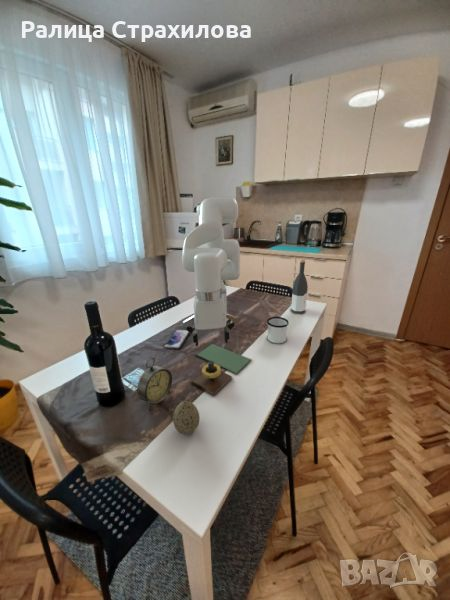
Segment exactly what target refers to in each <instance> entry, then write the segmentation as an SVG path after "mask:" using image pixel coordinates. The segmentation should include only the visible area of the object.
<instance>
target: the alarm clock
mask: <svg viewBox="0 0 450 600" xmlns="http://www.w3.org/2000/svg"><path fill="white" fill-rule="evenodd" d="M150 360H153V363H152V365H149V366H148V362H149V361H150ZM155 362H156V359H155V357H150V358H148V359H147V360H146V363H145V367H146V368H147V369H146V370H144V372H143V373H142V374H141V376H140V378H139V380H138V382H137V387H136V388H137V389H136V391H137V395H138V397H139V399H140V400H142V401H144V402H146V403H148V404H149V405H152V406H153V405H157V404H159V403H161V402H162V401H163V400H164V399H165V398H166V397H167V395H168V394H169V393H171V389H172V385H173V375H172V373H171V372H172V371H170V370H169V369H167V368H166V367H162V366H160V365H155ZM152 406H151V407H149V406H148V411H151V410H152V409H151V408H152Z"/></svg>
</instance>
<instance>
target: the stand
mask: <svg viewBox="0 0 450 600" xmlns="http://www.w3.org/2000/svg"><path fill="white" fill-rule="evenodd" d="M207 365H208V370H206V372H208V373H215V372H216V371H217V370H216V369H214V362H213V361H207ZM232 377H233V376H232V375H230V374H228V373H226V372H224V371H222V370H221V374H220V375H219V376H218V377H216V378H206V377H205V376H203V374H202V372H201V373H199V374H198V375H197V376H196V377H195V378H193V379H192V380H191V384H192V385H194V386H196V387H198V388H199V389H202V390H203V391H205V392H207V393H208V394H209V395H212V396H216V395H217V394H218V393H219V392H220V391H221V390H222V389H223V388H224V387H225V386H226V385H227V384H228V383H229V382H230V381H231V380H232Z"/></svg>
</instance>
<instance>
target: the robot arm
mask: <svg viewBox="0 0 450 600" xmlns="http://www.w3.org/2000/svg"><path fill="white" fill-rule="evenodd" d="M196 214H197V217H198V225H197V226H196V227H195V228H193V229H192V230H191V231H190V232H189V233H188V234H187V235H186V237H185V239H184V241H183V246H182V253H181V264H182V267H183V269H184V270H185V271H186V272H189V273H194V281H195V282H194V283H195V292H196V293H195V295H196V296H195V297H194V298H193V315H191V316H190V317H188V318H186V319H184V320H183V321H182V326H183V327H184V328H185V329H186V330H187V331H188V332H189V333H190V334H191V335H192V339H193V343H194V344H195V347H198V346H199V340H198V332H199V331H204V330H205V331H206V330H214V329H216V330H217V329H223V339H224V342H225V344H228V342H229V341H228V340H230V333H231V330H232V329H233V328H234V327H235V325H236V323H237V321H238V317H237V316H235V315H233V314H230V313H228V298H227V297H228V296H227V286H226V284H225V283H224V282H223V281H234V280H235V281H236V280H238V279H239V278H240V275H241V248H240V243H239V241H238V240H237V239H234V238H227V239H226V238H225V231H224V230H225V229H224V227H223V225H224V224H235V223H236V222H237V220H238V217H239V204H238V201H237V200H236V198H234V197H231V196H228V197H227V196H221V197H220V196H219V197H218V196H217V197H208V198H205V199H203V200H202V201H201V203H200V204H199V205H197V207H196ZM203 245H206V247H201V246H203ZM229 320H230V322H229V323H227V322H228V321H229ZM192 323H193V324H194V326H193V327H192V326H191V325H190V324H192Z"/></svg>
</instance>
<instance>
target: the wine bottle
mask: <svg viewBox="0 0 450 600" xmlns="http://www.w3.org/2000/svg"><path fill="white" fill-rule="evenodd" d="M305 266H306V259H305V258H300V261H299V272H298V274H297V276H296V277H295V278H294V281H293V284H292V295H291V305H290V306H291V307H290V311H291V312H292V313H293V314H296V315H297V314H298V315H299V314H300V315H301V314H305V313H306V306H307V296H308V287H309V286H308V280H307V278H306V275H305V268H306V267H305Z"/></svg>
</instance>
